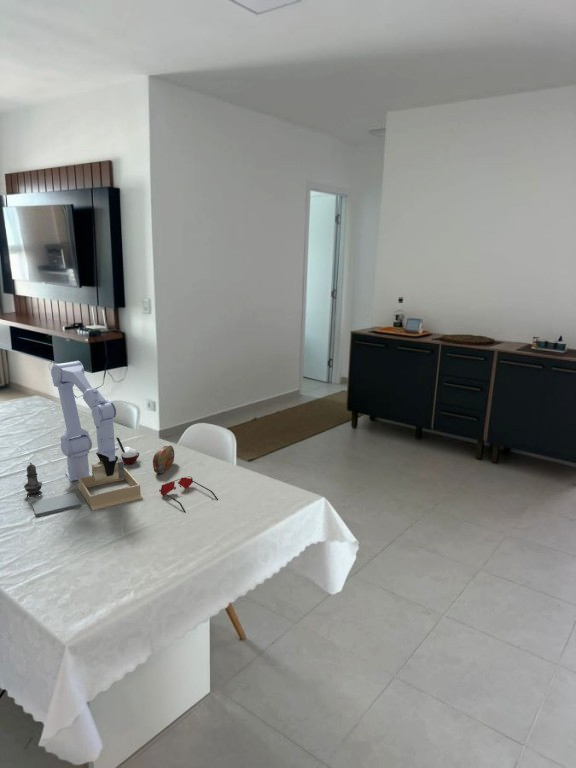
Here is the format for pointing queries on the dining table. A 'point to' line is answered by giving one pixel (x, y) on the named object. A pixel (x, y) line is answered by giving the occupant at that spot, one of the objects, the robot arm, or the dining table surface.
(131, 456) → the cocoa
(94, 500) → the wooden tray
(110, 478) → the capped box
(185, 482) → the glasses
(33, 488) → the salt shaker
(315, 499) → the dining table surface
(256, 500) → the dining table surface
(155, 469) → the tin
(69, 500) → the slate board
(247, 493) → the dining table surface
